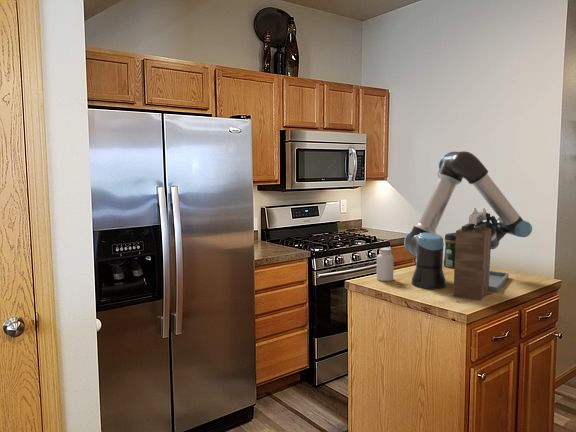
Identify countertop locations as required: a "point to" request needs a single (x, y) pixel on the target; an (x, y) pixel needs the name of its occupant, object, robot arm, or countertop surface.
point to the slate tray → (496, 280)
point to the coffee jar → (450, 250)
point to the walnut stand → (472, 261)
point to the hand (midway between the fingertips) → (479, 210)
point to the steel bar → (476, 218)
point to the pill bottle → (385, 265)
